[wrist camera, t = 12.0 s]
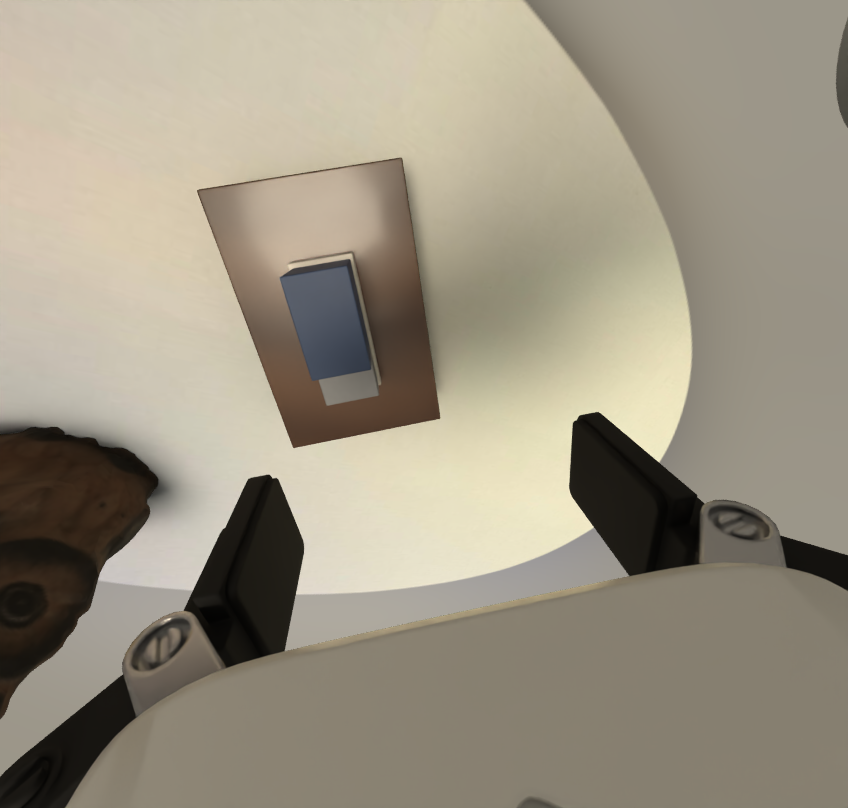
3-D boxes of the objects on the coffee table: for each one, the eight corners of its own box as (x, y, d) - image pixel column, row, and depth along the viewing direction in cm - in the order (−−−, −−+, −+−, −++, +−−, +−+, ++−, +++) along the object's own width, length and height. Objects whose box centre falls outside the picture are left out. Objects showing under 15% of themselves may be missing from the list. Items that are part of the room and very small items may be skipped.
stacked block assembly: (290, 262, 23) (272, 271, 19) (352, 251, 24) (349, 258, 19) (328, 389, 28) (320, 421, 23) (380, 378, 28) (383, 408, 23)
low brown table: (228, 195, 26) (196, 189, 21) (395, 169, 27) (402, 157, 22) (303, 415, 34) (293, 448, 29) (429, 390, 35) (440, 418, 30)
